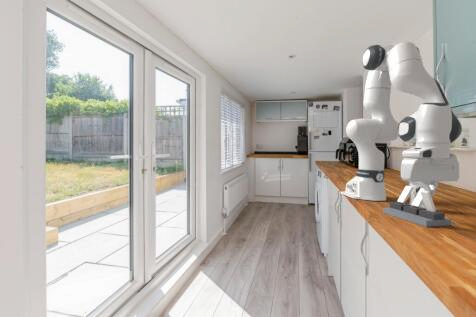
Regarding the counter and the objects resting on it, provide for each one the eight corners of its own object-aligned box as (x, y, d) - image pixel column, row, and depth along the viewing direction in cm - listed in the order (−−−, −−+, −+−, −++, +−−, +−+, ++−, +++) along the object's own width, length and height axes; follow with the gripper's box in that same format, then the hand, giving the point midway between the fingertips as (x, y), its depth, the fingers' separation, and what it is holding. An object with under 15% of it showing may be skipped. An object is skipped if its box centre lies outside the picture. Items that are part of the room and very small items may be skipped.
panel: (383, 212, 95) (383, 202, 94) (404, 211, 97) (405, 201, 97) (426, 226, 78) (426, 214, 78) (451, 225, 80) (451, 213, 80)
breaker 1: (397, 201, 94) (406, 185, 95) (398, 202, 94) (407, 186, 95) (402, 202, 92) (411, 186, 92) (404, 203, 92) (413, 187, 93)
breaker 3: (426, 210, 82) (420, 191, 81) (428, 208, 83) (422, 190, 82) (433, 212, 80) (427, 193, 79) (436, 210, 80) (429, 191, 79)
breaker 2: (411, 204, 88) (420, 188, 89) (413, 206, 89) (422, 189, 89) (417, 206, 86) (427, 189, 87) (419, 207, 86) (429, 190, 87)
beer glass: (403, 207, 104) (405, 171, 104) (413, 206, 107) (415, 171, 106) (421, 211, 98) (423, 173, 97) (431, 210, 101) (434, 173, 100)
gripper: (446, 152, 86) (443, 192, 86) (397, 151, 81) (395, 193, 82) (467, 153, 80) (464, 196, 80) (416, 152, 75) (413, 197, 75)
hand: (429, 195), depth 81 cm, fingers closed
